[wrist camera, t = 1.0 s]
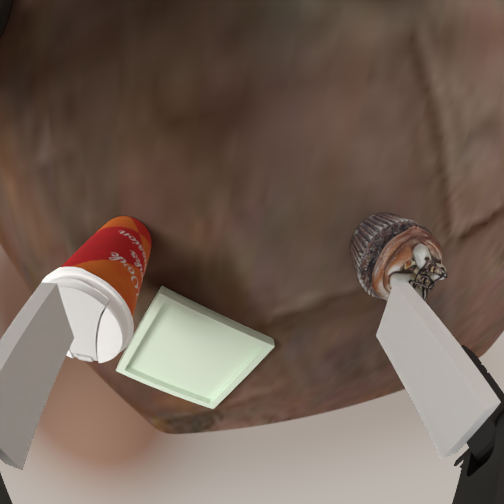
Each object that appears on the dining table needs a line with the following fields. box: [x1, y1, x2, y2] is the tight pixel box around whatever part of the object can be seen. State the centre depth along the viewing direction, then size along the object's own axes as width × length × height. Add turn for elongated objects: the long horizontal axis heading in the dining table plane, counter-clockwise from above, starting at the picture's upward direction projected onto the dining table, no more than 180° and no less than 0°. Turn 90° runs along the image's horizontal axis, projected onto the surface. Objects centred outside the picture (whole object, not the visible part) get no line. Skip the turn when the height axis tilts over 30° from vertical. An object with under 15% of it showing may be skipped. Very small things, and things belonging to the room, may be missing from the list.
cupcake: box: [350, 213, 447, 301], centre depth 31 cm, size 10×10×10 cm
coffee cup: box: [41, 216, 152, 363], centre depth 26 cm, size 8×8×15 cm
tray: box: [116, 286, 275, 409], centre depth 40 cm, size 16×16×2 cm
